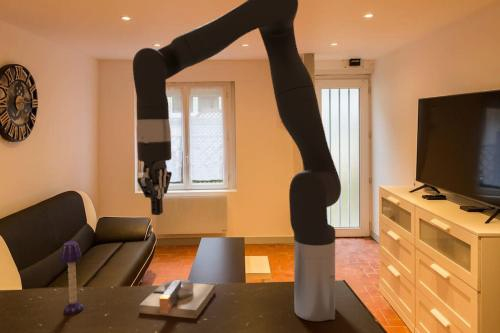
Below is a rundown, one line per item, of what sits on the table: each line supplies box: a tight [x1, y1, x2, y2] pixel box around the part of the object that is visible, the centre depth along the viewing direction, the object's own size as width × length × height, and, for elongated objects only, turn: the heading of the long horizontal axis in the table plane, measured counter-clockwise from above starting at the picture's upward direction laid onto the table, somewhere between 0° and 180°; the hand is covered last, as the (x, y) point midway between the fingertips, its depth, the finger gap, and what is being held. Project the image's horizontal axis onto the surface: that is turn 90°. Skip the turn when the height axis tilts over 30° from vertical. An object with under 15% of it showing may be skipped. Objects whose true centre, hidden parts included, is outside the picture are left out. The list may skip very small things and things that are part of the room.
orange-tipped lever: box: [159, 279, 193, 314], centre depth 90 cm, size 15×7×4 cm, turn 174°
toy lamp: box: [59, 240, 84, 315], centre depth 89 cm, size 5×5×17 cm
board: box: [138, 280, 216, 319], centre depth 94 cm, size 14×14×2 cm
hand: (157, 214), depth 88 cm, fingers closed
